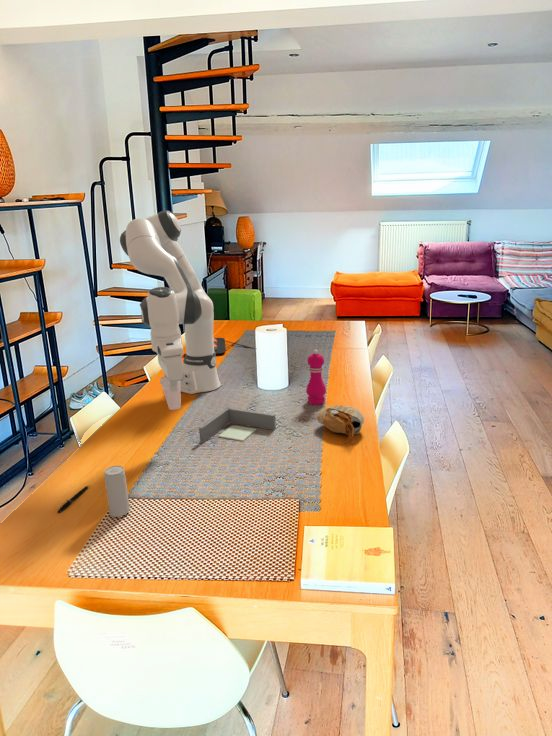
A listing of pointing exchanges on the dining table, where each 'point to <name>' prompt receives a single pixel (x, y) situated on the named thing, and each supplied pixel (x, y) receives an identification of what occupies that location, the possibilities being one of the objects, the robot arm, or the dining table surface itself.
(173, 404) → the smoothie
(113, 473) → the beverage can
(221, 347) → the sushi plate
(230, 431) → the grey corner wall
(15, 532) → the dining table surface
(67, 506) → the fountain pen
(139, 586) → the dining table surface
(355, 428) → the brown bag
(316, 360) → the pepper mill
